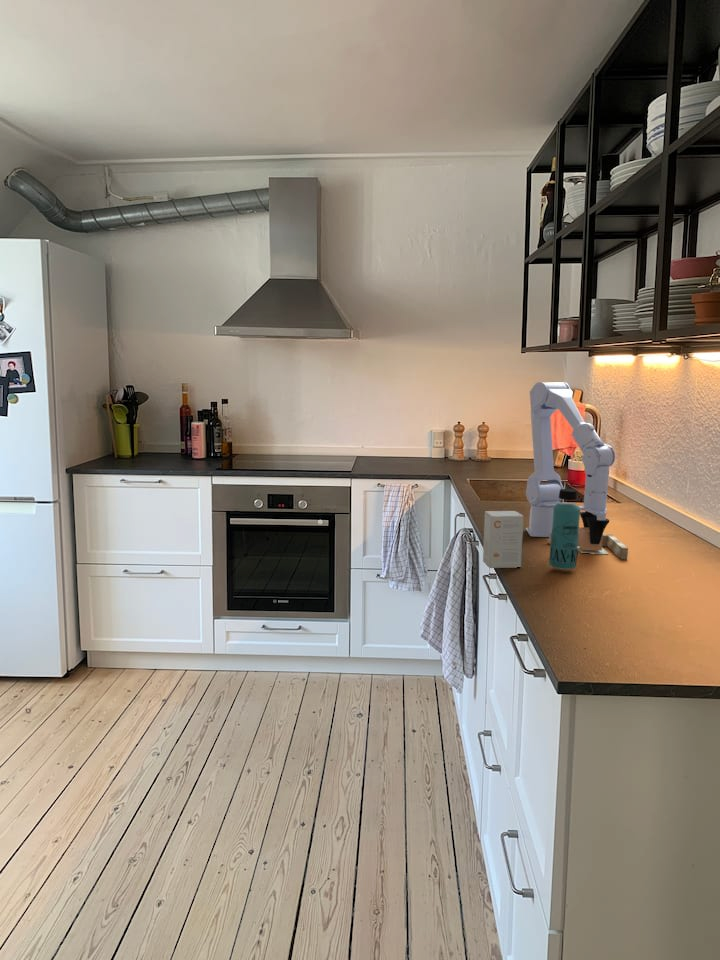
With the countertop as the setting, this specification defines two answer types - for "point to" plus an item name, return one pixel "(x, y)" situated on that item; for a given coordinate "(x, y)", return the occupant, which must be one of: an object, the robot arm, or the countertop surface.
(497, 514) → the small box
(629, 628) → the countertop surface
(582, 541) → the cube
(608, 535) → the l-shaped wall
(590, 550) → the pad
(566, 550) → the beverage bottle
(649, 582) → the countertop surface
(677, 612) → the countertop surface
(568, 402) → the robot arm
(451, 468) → the countertop surface
